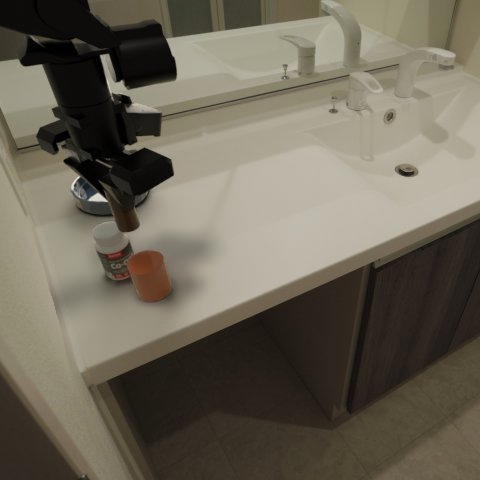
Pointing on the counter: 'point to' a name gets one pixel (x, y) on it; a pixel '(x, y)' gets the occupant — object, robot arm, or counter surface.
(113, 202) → the brown cylinder
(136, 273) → the orange cylinder cap
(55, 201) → the counter surface
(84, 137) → the robot arm
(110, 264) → the pill bottle
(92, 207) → the bowl
